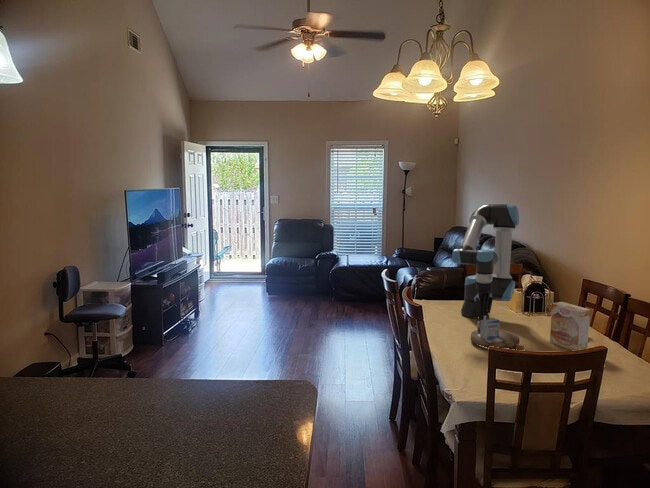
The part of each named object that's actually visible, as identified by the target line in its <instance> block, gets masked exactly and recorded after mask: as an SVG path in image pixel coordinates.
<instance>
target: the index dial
mask: <svg viewBox="0 0 650 488" xmlns="http://www.w3.org/2000/svg"><path fill="white" fill-rule="evenodd" d="M480 324H481V322H480V321H477V329H476V330H473V331H471V333H470V340H471V342H472V343H474V344H475V343H476V344H478V345H481V346H484V347H489V346H494V347H499V348H514V347H515V348H516V344H520V341H521V340H520V337H519V335H517V334H514V333H513V332H510V331H506V330H504V329H503V330H501V329H499V338H494V339H489V340H486V339H483V338H481V337H480ZM476 344H475V345H476ZM515 348H514V349H515Z"/></svg>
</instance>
